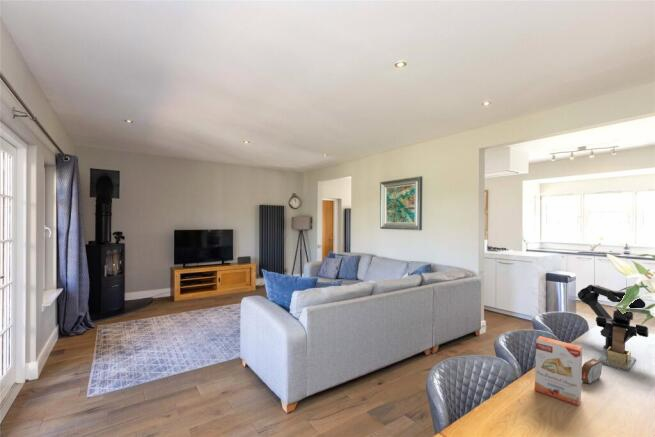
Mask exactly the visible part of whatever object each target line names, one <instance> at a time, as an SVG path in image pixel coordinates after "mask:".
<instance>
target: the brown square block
mask: <svg viewBox="0 0 655 437" xmlns="http://www.w3.org/2000/svg"><path fill="white" fill-rule="evenodd" d="M625 334H626V329H624V328H619V327H614V328H613V339H612V351H614V352H617V353H621V354H625V350H626V343H624V338H625Z"/></svg>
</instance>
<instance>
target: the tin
mask: <svg viewBox="0 0 655 437" xmlns="http://www.w3.org/2000/svg"><path fill="white" fill-rule="evenodd" d="M602 368H603V364H602V362H600V361H598V359H595V358H592V359H590V360H588V361H585V362H584V363H582V380H581V382H584V383H586V384H589V385H590V384H593V383H594V382H595V381H598V380H599V379H600V377H601V375H602V371H603V370H602Z"/></svg>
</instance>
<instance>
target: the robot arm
mask: <svg viewBox="0 0 655 437" xmlns="http://www.w3.org/2000/svg"><path fill="white" fill-rule="evenodd" d="M625 292H626V291H624V290H623V291H621V290H613V289H610V288H606V287H604V286H601V285H599V284H589V285H587V287H584V288H582V289H580V290H579V291H578V293H577V298H578V299H579V301H581V302H582V303H583V304H586V305H587V306H589V307H590V309H591V310H592V311H593V312H594V313H595V315H596V318H595V322H596V325H597V327H600V328H602V329H601V330H600V336H602V337H604V338H605V341H604V342H605V344H604V345H603V347H602V348H604V349H606V350H607V349H608V348H609V347H610V346H611V347H612V339H613V328H614V327H619V328H624V329H626V334H625V338H624V343H625V344H626V343H627V342H628V341H629V340H630V339H631V338H633V337H638V336H640V337H644V338H649V328H648V326H646V325H641V324H635V326H633V325H631V321H633V319H634V312H626V313H624V314H622V313H621V312H620V311H619V310H618V309H617V308H616V309H615V310H613V315H612V316H611V315H610V314H609V313H608V311H607V310H606V309H605V308H604V307H603V306H602V305H601V303H600V302H599V297H600V296H603V297H605V298H607V300H609V301H610V302H612V303H620V301H621V300H622V298H623V296H624V295H625ZM638 298H639V299H637V300H635V301H634V302H633V303H631V304H630V305H629V307H630V308H642V309H644V308H646V302H645V301H644V300H643V299H642V298H640V297H638Z"/></svg>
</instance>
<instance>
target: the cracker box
mask: <svg viewBox="0 0 655 437" xmlns="http://www.w3.org/2000/svg"><path fill="white" fill-rule="evenodd" d="M535 342H536V343H535V344H536V345H535V368H534V369H535V370H534V372H535V373H534V391H536V392H539V393H542V394H544V395H546V396H550V397H553V398H555V399H558V400H561V401H563V402H566V403H569V404H572V405H575V406H577V407H579V406H580V403H581V400H582V381H581V380H582V366H583V346H581V345H576V344H573V343H568V342H564V341H561V340H556V339H553V338H550V337H549V338H548V337H546V336H545V337H544V336H541V335H539V336H538V337H537V338H536V341H535Z"/></svg>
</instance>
